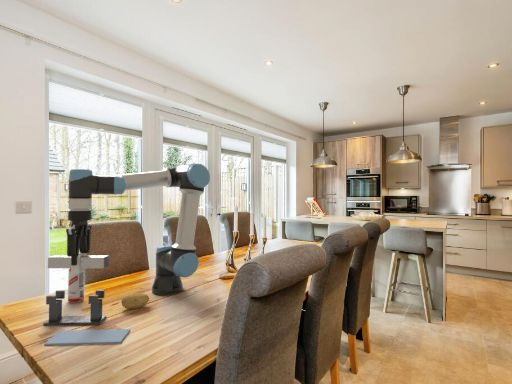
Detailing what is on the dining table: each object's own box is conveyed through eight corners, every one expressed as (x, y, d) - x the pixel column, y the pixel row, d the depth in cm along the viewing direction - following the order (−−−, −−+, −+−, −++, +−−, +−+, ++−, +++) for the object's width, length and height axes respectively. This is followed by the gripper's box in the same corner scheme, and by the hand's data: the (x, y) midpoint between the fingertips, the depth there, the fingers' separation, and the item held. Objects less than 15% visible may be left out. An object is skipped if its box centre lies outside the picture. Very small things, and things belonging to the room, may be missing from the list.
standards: (106, 317, 116) (107, 289, 117) (99, 325, 110) (99, 295, 110) (53, 318, 115) (54, 290, 115) (42, 326, 108) (43, 296, 108)
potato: (122, 306, 128) (122, 291, 128) (149, 303, 132) (149, 289, 132) (120, 312, 122) (120, 297, 122) (148, 309, 125) (148, 294, 125)
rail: (108, 265, 113) (108, 255, 113) (103, 268, 109) (103, 257, 109) (54, 265, 112) (54, 255, 112) (47, 268, 108) (47, 257, 108)
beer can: (76, 304, 130) (77, 268, 130) (64, 302, 131) (65, 267, 131) (87, 299, 136) (87, 264, 136) (75, 298, 137) (76, 263, 137)
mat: (130, 330, 106) (130, 329, 106) (120, 343, 97) (120, 341, 97) (60, 332, 104) (60, 330, 104) (44, 345, 95) (44, 343, 95)
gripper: (81, 208, 119) (80, 266, 118) (55, 211, 102) (54, 278, 101) (100, 208, 119) (99, 266, 119) (77, 211, 102) (76, 278, 102)
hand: (78, 271), depth 110 cm, fingers closed on rail, 4 cm apart
